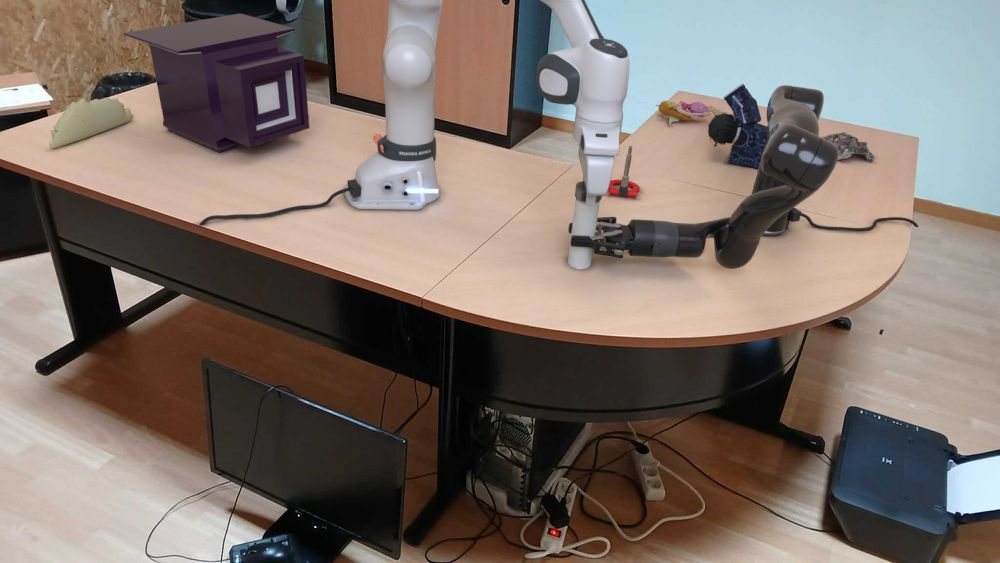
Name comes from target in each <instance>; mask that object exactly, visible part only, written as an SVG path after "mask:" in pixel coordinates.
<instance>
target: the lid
mask: <svg viewBox="0 0 1000 563" xmlns="http://www.w3.org/2000/svg"><path fill="white" fill-rule="evenodd" d="M574 191H575V192H574V197H575V199H576V198H577V199H578V200H580V201H583V202H586V201H585V199H586V194H587V191H586V187H585V182H584V181H583V180H581V181H578V182H577V183H576V185H575V190H574ZM602 199H603V196H597V197H596V201H595V202H599V201H600V202H601V200H602Z"/></svg>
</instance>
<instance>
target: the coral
mask: <svg viewBox="0 0 1000 563" xmlns="http://www.w3.org/2000/svg"><path fill="white" fill-rule="evenodd" d="M821 138H823V139H826V140H828V141H829V142H831V143H833V144H834V145H835V146H836V147H837V148H838V150H839V156H838V160H837V161H839V160H840V161H841V160H844V159H848V158H851V157H852V155H853V154H854V155H857V154H859V155H860V156H861V158H863V159H865V160H866V161H871V162H874V160H875V159H874V158H875V155H874V154H873V153H872V152H871V151H870V149H869V147H868V142H867V141H859V139H858V137H855V136H853V135H852V134H851V133H849V132H848V131H846V132H844V131H843V132H836V133H830V134H827V135H826V136H822V137H821ZM873 157H874V158H873Z"/></svg>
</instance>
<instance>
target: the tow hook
mask: <svg viewBox="0 0 1000 563" xmlns="http://www.w3.org/2000/svg"><path fill="white" fill-rule="evenodd" d="M627 151H628V152H627V154H626V157H625V162H624V163H625V164H624V170H623V175H622V176H621V179H611V180H610V184H609V188H608V191H609V192H608V194H609V195H612V196H618V197H625V198H627V197H628V198H637V195H638V193H640V190H641V188H640V186H639V184H637V183H636V182H633V181H630V176H629V175H630V168H631V162H632V156H633V155H632V151H633V146H632V145H629V146H628V150H627ZM615 185H619V187H615ZM629 187H631V189H629Z"/></svg>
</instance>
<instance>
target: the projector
mask: <svg viewBox="0 0 1000 563" xmlns="http://www.w3.org/2000/svg"><path fill="white" fill-rule="evenodd" d="M294 31H295V28H294V27H292V26H287V25H283V24H279V23H276V22H272V21H269V20H264V19H262V18H259V17H256V16H255V17H254V16H252V15H247V14H244V13H235V14H230V15H224V16H217V17H212V18H205V19H200V20H194V21H188V22H181V23H175V24H169V25H163V26H157V27H151V28H146V29H145V28H144V29H139V30H134V31H128V32H123V36H125V37H127V38H130V39H133V40H136V41H138V42H142V43H145V44H148V45H149V50H150V54H151V60H152V66H153V71H154V75H155V76H154V77H155V82H156V87H157V92H158V97H159V102H160V107H161V113H162V118H163V122H162V126H163V127H165V128H166V129H167V131H168V132H170V133H172V134H175V135H177V136H179V137H182V138H184V139H187V140H189V141H191V142H193V143H196V144H197V145H200V146H203V147H205V148H207V149H209V150H212V151H215V152H217V153H219V154H220V153H224V152H227V151H229V150H233V149H235V148H237V144H240V145H242V146H245V147H247V148H249V149H250V148H253V147H256V146H259V145H262V144H266V143H269V142H271V141H275V140H278V139H281V138H285V137H287V136H289V135H293V134H296V133H300V132H302V131H305V130H308V129H310V118H309V105H308V94H307V93H308V92H307V80H306V79H307V78H306V68H305V56H304V54H303V53H302V54H301V53H297V52H296V51H295V52H294V51H291V50H288V49H285V48H282V47H279V44H278V40H277V38H280V37H282V36H286V35H287V34H291V33H292V32H294Z"/></svg>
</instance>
